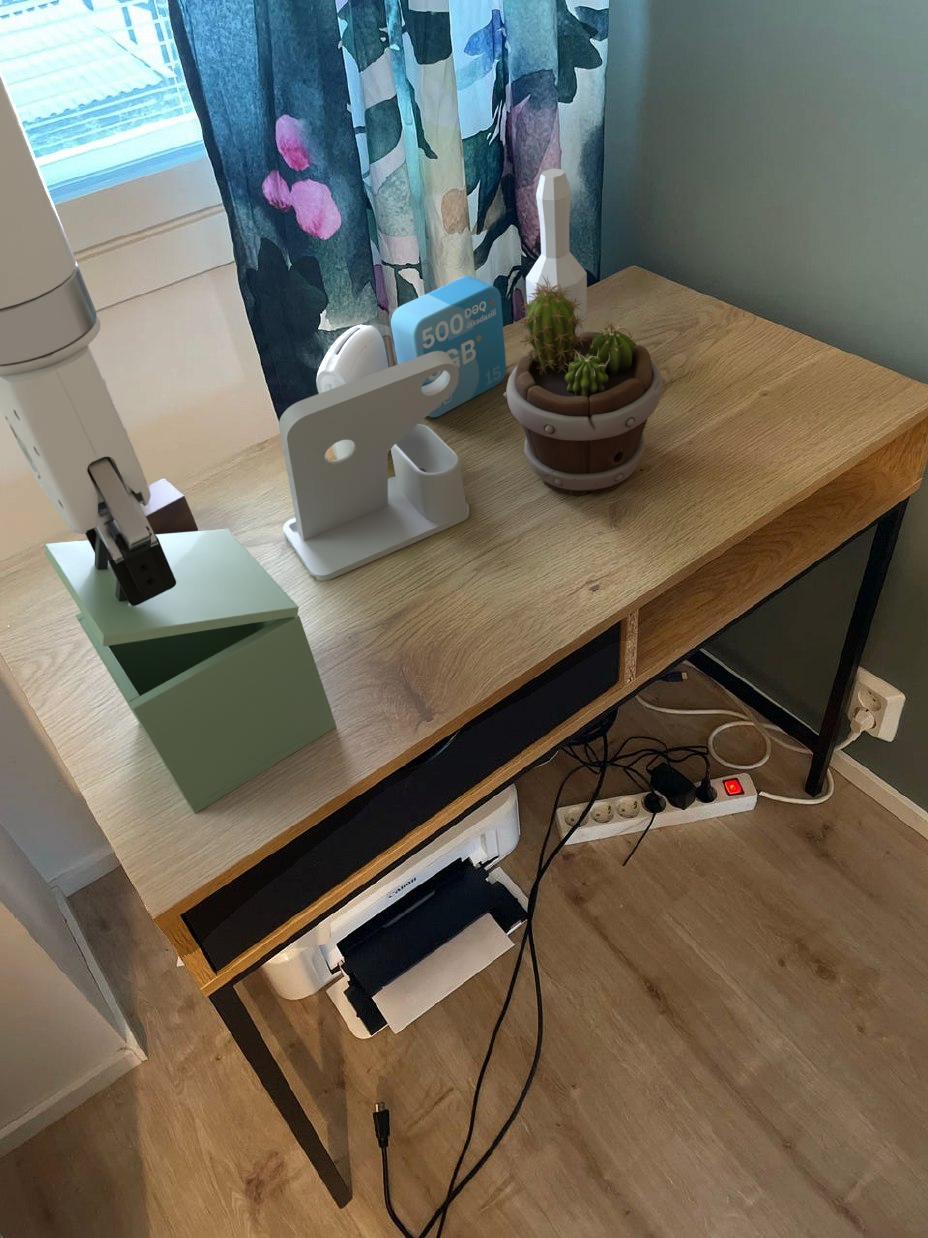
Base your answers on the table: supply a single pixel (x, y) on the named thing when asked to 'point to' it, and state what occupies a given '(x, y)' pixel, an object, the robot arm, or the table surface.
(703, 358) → the table surface
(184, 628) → the green box lid
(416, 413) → the phone holder
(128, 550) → the robot arm
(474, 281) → the data package
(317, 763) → the table surface
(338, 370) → the photo printer
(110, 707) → the table surface
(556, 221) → the low poly bottle
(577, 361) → the flowerpot
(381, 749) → the table surface
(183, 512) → the block
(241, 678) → the box
